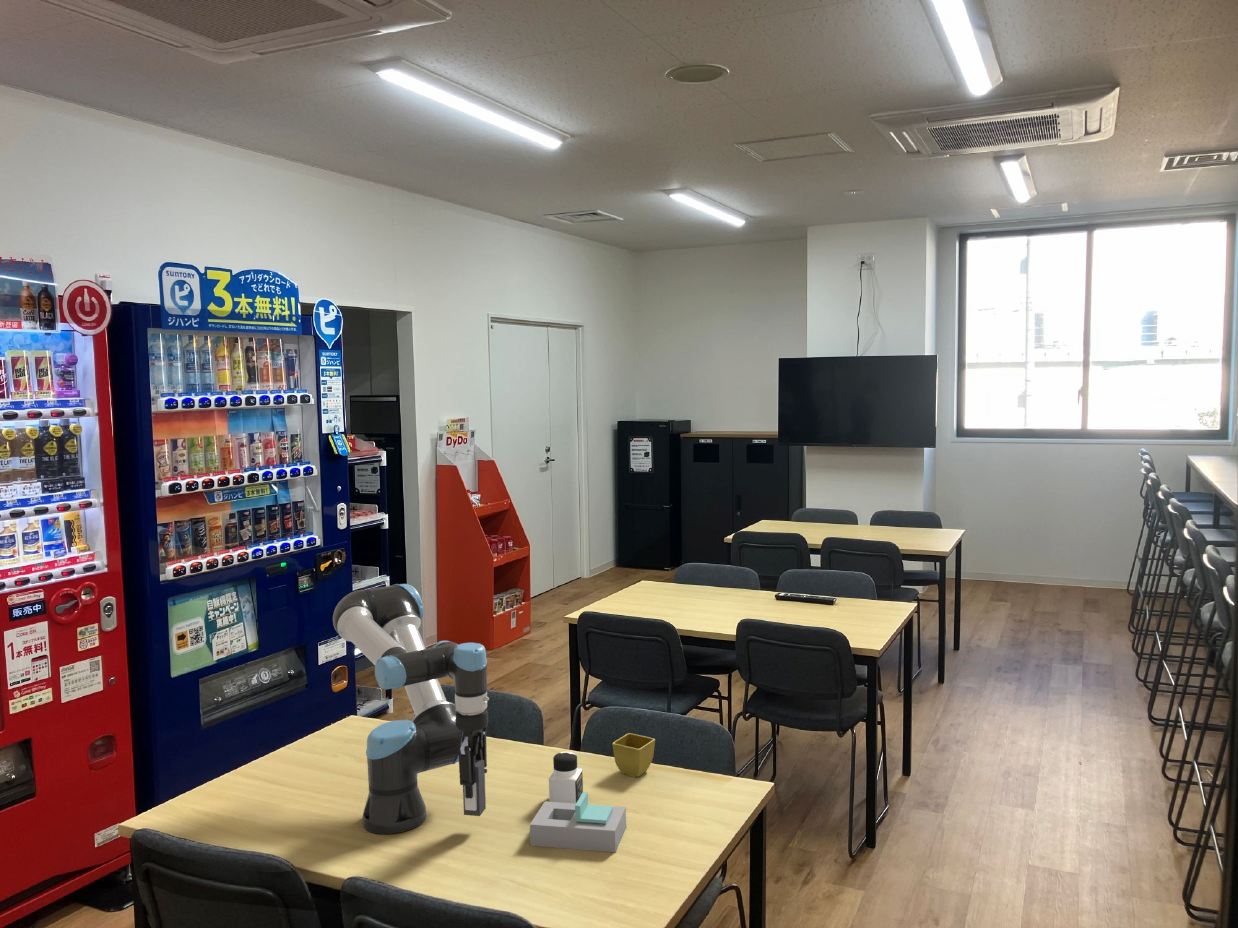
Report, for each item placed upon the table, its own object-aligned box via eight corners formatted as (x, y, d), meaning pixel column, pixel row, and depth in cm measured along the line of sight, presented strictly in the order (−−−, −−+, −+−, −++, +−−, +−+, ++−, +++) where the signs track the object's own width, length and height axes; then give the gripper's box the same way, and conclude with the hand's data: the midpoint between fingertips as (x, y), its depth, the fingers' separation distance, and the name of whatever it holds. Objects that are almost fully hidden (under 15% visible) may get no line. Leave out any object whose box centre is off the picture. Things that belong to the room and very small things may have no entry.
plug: (463, 814, 217) (462, 765, 216) (470, 806, 221) (468, 758, 220) (479, 816, 217) (478, 767, 215) (485, 808, 220) (484, 760, 219)
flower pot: (656, 770, 251) (655, 738, 250) (640, 782, 243) (639, 749, 243) (629, 763, 255) (628, 732, 255) (612, 775, 248) (611, 743, 247)
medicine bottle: (576, 807, 230) (575, 760, 229) (549, 805, 231) (547, 759, 230) (583, 794, 237) (582, 749, 236) (556, 793, 238) (555, 748, 237)
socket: (530, 845, 211) (529, 824, 210) (545, 821, 222) (544, 801, 222) (615, 852, 207) (615, 830, 206) (626, 827, 218) (625, 806, 218)
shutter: (575, 821, 211) (575, 805, 210) (583, 807, 218) (582, 791, 217) (606, 823, 209) (605, 807, 209) (612, 809, 216) (612, 793, 216)
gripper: (473, 724, 207) (476, 823, 210) (498, 698, 224) (501, 790, 226) (442, 722, 209) (445, 820, 211) (469, 696, 226) (472, 787, 228)
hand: (474, 804), depth 219 cm, fingers closed on plug, 4 cm apart
